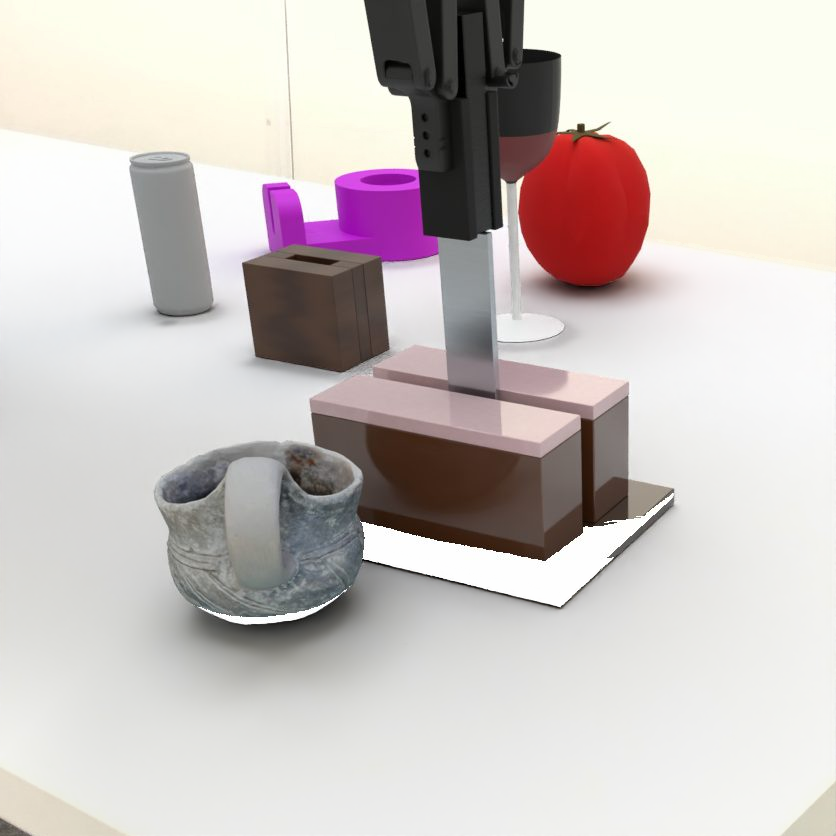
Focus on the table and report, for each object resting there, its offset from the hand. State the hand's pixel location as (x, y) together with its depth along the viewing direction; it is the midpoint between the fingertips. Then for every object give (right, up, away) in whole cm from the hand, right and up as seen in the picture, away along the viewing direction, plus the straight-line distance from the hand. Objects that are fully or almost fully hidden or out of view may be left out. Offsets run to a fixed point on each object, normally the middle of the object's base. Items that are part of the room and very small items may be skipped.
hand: (463, 230), depth 67 cm
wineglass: (-1, +4, +39) cm, 39 cm away
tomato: (+4, +11, +50) cm, 52 cm away
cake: (0, -14, +8) cm, 16 cm away
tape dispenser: (-17, +16, +59) cm, 64 cm away
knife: (0, -8, +5) cm, 9 cm away
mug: (-9, -20, -1) cm, 22 cm away
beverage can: (-29, +6, +43) cm, 52 cm away
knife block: (-15, +1, +33) cm, 37 cm away
